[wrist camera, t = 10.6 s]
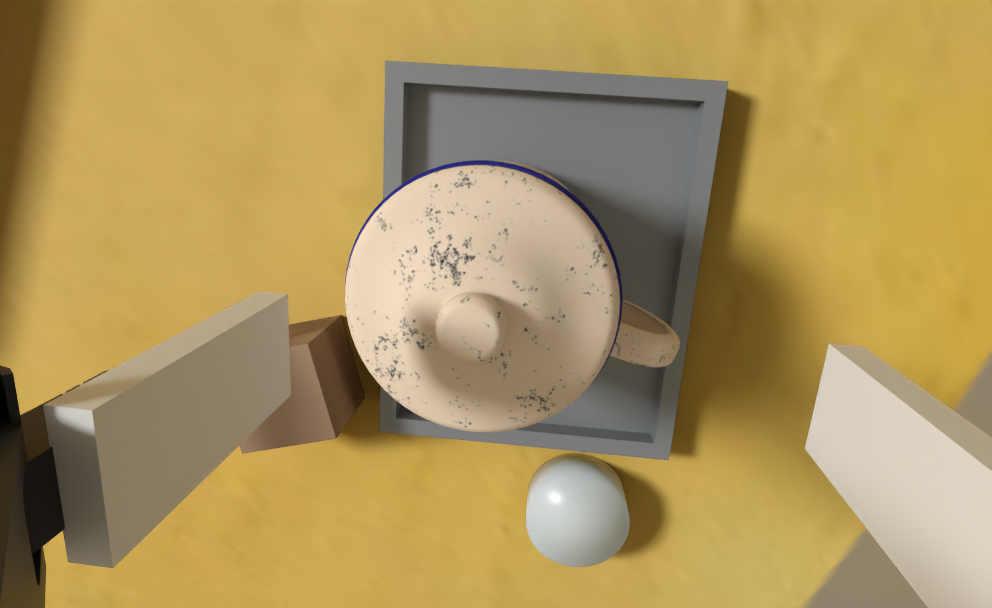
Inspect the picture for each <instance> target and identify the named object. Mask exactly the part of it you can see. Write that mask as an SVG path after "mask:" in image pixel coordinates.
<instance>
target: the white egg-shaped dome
mask: <svg viewBox="0 0 992 608" xmlns="http://www.w3.org/2000/svg"><path fill="white" fill-rule="evenodd" d="M526 526H527V531H528V535H529V537H530V539H531V541H532V543H533V544H534V546H535V547H536V548H537V549H538V550H539V551H540V552H541V553H542V554H543V555H544V556H546V557H547V558H549V559H551V560H552V561H554V562H557V563H559V564H563V565H566V566H572V567H586V566H592V565H596V564H599V563H601V562H604V561H606V560H607V559H609V558H611V557H612V556H613V555H615V554H616V553H617V552H618V551H619V550H620V549H621V547H622V546H623V544H624V543H625V541H626V539H627V536H628V533H629V529H630V517H629V512H628V508H627V503H626V498H625V494H624V489H623V485H622V483H621V480H620V478H619V477H618V475H617V473H616V472H615V471H614V470H613V469H612V468H611V467H610V466H609V465H608V464H606V463H605V462H604V461H602V460H600V459H598V458H596V457H593V456H590V455H586V454H578V453H572V454H564V455H560V456H557V457H554V458H552V459H550V460H548V461H547V462H545V463H544V464H543V465H542V466H540V467H539V468H538V470H537V471H536V472H535V473H534V475H533V477H532V479H531V481H530V483H529V487H528V495H527V513H526Z"/></svg>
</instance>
